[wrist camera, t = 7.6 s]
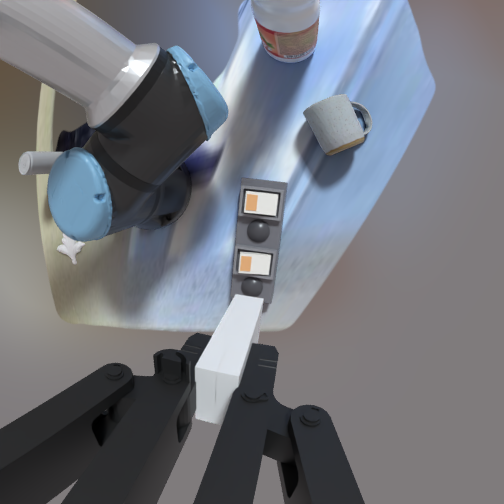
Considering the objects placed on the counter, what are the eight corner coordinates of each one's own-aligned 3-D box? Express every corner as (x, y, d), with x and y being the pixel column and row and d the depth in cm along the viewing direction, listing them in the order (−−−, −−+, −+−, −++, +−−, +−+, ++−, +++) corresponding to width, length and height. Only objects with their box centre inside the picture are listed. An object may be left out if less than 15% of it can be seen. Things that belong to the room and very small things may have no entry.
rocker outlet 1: (244, 211, 44) (243, 212, 43) (246, 190, 43) (246, 191, 42) (275, 214, 44) (275, 215, 43) (277, 194, 43) (278, 194, 42)
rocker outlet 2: (238, 270, 46) (238, 273, 45) (239, 251, 45) (240, 253, 44) (267, 272, 47) (268, 275, 46) (270, 253, 46) (271, 255, 45)
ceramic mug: (324, 160, 45) (329, 156, 37) (301, 117, 43) (303, 105, 36) (378, 137, 42) (392, 129, 35) (356, 95, 41) (366, 80, 34)
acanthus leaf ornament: (59, 248, 58) (54, 250, 56) (67, 225, 56) (61, 226, 55) (78, 267, 58) (73, 269, 56) (86, 243, 56) (81, 245, 55)
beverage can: (54, 170, 53) (16, 173, 41) (58, 150, 52) (20, 150, 40) (66, 174, 53) (28, 177, 41) (70, 153, 51) (32, 153, 40)
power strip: (234, 289, 52) (229, 299, 48) (245, 178, 47) (240, 177, 43) (272, 295, 52) (270, 306, 47) (287, 182, 46) (286, 182, 42)
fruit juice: (306, 71, 41) (309, -32, 14) (255, 55, 42) (211, -45, 15) (323, 32, 38) (335, -74, 12) (274, 18, 39) (248, -87, 12)
